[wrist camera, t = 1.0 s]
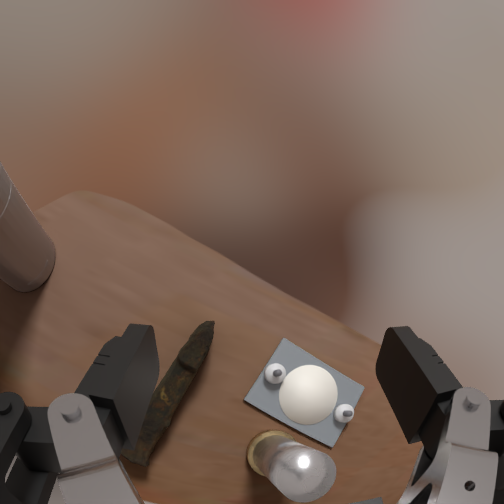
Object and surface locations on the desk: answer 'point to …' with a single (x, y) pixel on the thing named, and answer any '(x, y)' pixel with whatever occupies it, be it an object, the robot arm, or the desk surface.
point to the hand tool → (171, 393)
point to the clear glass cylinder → (291, 465)
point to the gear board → (305, 393)
